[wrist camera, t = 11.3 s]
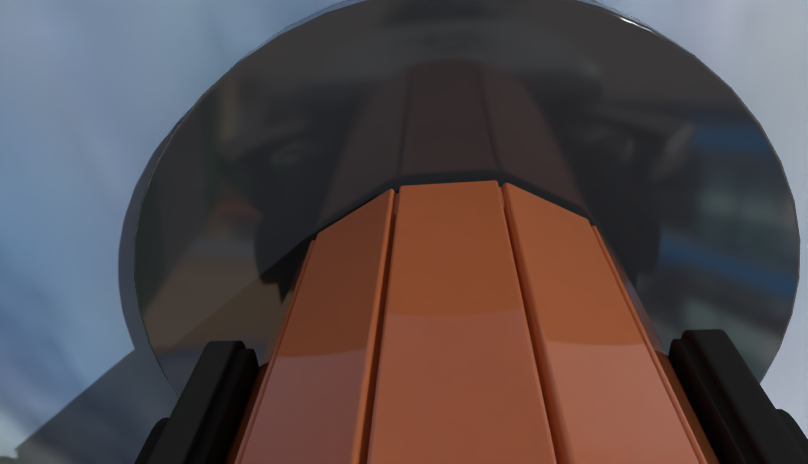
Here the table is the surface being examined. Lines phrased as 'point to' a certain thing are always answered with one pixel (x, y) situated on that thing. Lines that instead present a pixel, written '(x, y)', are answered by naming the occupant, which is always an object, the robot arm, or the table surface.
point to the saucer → (467, 163)
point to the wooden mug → (465, 344)
